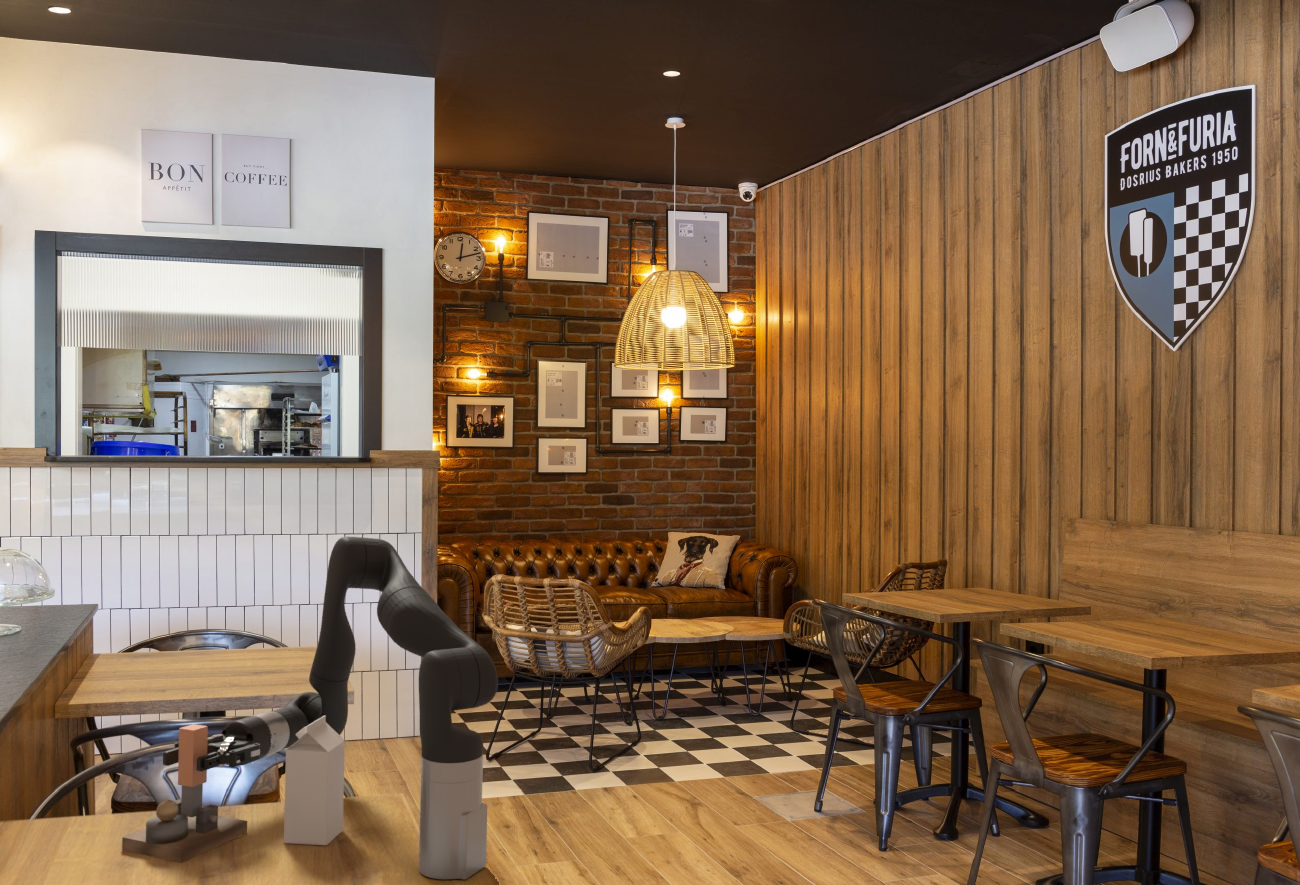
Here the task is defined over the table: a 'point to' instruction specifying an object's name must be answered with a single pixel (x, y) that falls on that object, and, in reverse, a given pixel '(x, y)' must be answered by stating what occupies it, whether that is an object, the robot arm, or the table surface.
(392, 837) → the table surface
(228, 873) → the table surface
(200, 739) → the lever
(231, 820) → the base
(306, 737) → the milk carton
